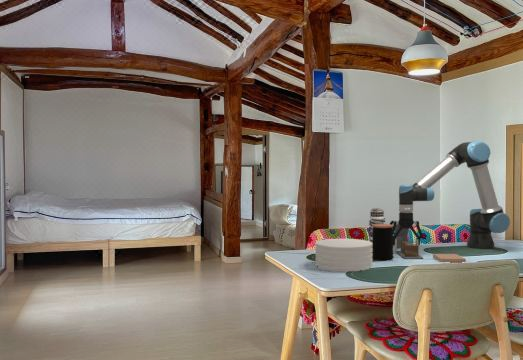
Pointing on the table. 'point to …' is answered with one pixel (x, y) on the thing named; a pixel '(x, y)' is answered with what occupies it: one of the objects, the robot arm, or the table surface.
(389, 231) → the coffee jar
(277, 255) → the table surface
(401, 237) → the coffeepot
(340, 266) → the plate stack
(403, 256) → the rubber mat
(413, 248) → the brown wooden block
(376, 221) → the decorative candle
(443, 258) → the glazed tile
